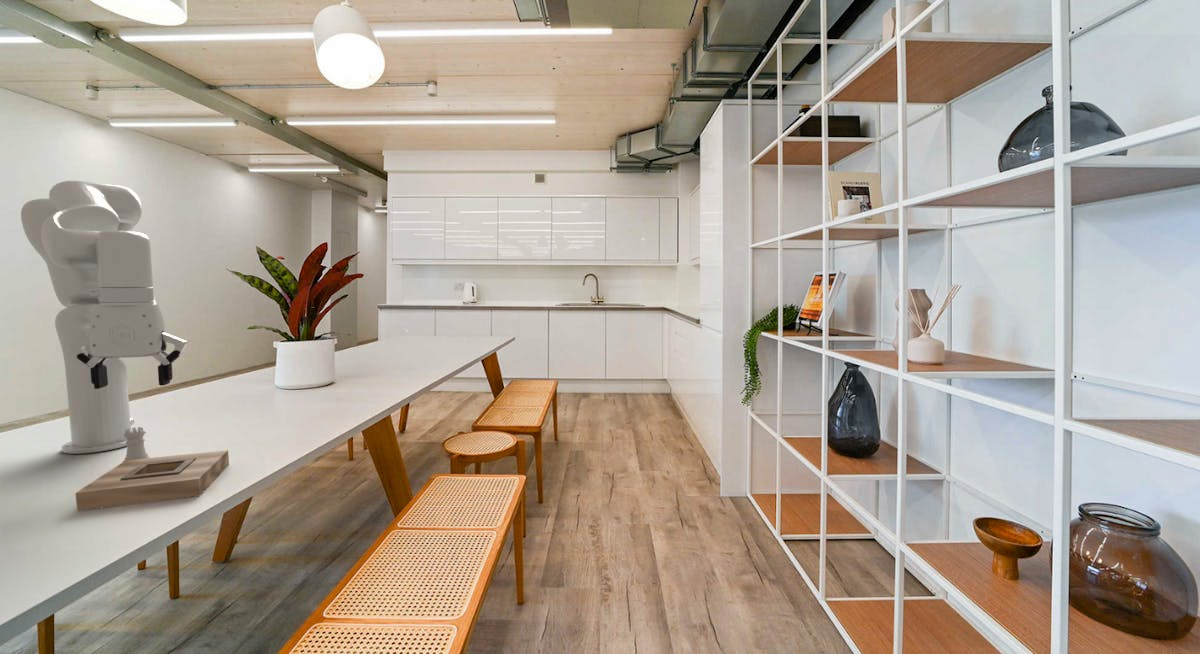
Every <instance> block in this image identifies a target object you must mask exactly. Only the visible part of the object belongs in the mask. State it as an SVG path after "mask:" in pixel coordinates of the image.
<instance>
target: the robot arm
mask: <svg viewBox="0 0 1200 654" xmlns="http://www.w3.org/2000/svg"><path fill="white" fill-rule="evenodd" d="M142 207H143V206H142V202H141V199H140V198H139V196H138V194H137V193H135V191H133V190H132V189H130V188H128V187H126V186H122V185H116V184H115V185H114V184H107V183H98V182H91V181H82V180H65V181H64V180H63V181H61V182H58V183H56V184H55V185H53V186H52V187H51V189H49V194H48V198H37V199H31V200H29V201H27V202H26V203H24V204H23V206H22V208H21V209H20V210H21V211H20V220H21V225H22V229H23V231H24V234H25V235H26V238H27V239H28V241H29V244H31V246H32V247H33V249H34V250H35V251H36V252H37V253H38V255H39V256H41V258H42V260H43V261H44V262H45V263H46V266H47V269H48V270H47V271H48V273H49V276H50V280H51V281H50V282H51V284H52V287H53V290H54V293H55V296H56V298H57V299H58V302H60V305H62V306H63V307H65V308H63V309H61V310H60V311H59V312H58V313H57V314H56V317H55V319H54V320H55V321H54V327H55V331H56V334H57V337H58V341H59V344H60V347H61V350H62V357H63V360H64V362H63V363H64V370H65V380H66V392H67V403H68V416H69V425H70V426H69V427H70V437H71V438H70V439H71V441H68V442H66V443H64V444H63V445H62V446H61V452H62V453H64V454H69V455H75V454H76V455H77V454H80V455H81V454H90V453H91V454H93V453H99V452H105V451H111V450H116V449H120V448H124V447H127V444H126V441H127V438H125V437H124V436H123V435H124V434H125V433H126V430H127V429H130V430H132V428H131V427H132V426H133V425H134V424H135V420H134V418H132V417H131V415H130V414H131V412H130V411H131V410H130V400H129V398H130V397H129V389H128V388H129V386H128V374H127V366H126V364H125V362H124V361H123V359H121V358H145V357H152V358H154V359H155V360H156V361H158V362H159V363H160V364H159V365H157V374H158V385H159V386H166V385H168V384H170V383H171V381H172V380H173V377H174V376H173V364H172V363H174V362H175V361H176V360H177V359H179V357H180V356H181V355H183V352H184V350H185V348H186V347H187V345H188V341H187V340H184V339H182V338H179V337H177V336H175V335H171V334H169V333H166V326H165V321H164V317H163V314H162V311H161V308H160V306H159V303H158V300H157V298H156V295H155V292H154V285H153V284H154V281H153V268H152V267H153V266H152V253H151V251H152V250H151V242H150V238H149V237H148V236H147V234H144V233H141V232H137V231H132V230H133V229H134V227H136V226H137V225H138V223H139V222H140V220H141V217H142V210H143V208H142ZM167 343H169V344H171V345H174V349H173V350H172V351H171V352H170V353H168V351H166V350H167V348H168V347H167V346H168V344H167Z"/></svg>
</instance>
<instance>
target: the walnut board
mask: <svg viewBox="0 0 1200 654" xmlns="http://www.w3.org/2000/svg"><path fill="white" fill-rule="evenodd" d="M229 459H230V458H229V450H228V449H227V450H217V451H207V452H199V453H198V452H197V453H185V454H177V455H168V456H167V455H165V456H157V457H150V458H145V459H135V460H126V461H124V460H123V461H124V462H123V461H122V462H123V463H122V462H121V463H120V464H118V465H116V466H114V468H112V469H110V470H109V471H107V472H105V473H104V474H102V475H101V476H100V477H98V478H97V479H94V480H93V481H91V482H90V483H89V484H87V485H85V486H84V487H82V488H81V489H79V490H78V491H76V492H75V501H76V511H77V512H79V510H82V511H87V510H86V509H90V510H94V509H93V508H98V509H102V508H101V507H106V508H111V507H110V506H114V507H120V505H122V506H128V505H129V504H130V505H136V503H138V504H145V503H153V501H154V502H160V500H162V501H169V499H170V500H176V498H178V499H184V497H186V498H192V497H191V496H194V497H199V496H198V495H200V496H201V495H202V494H204V492H205V491H206V490H207V489H208V488H209V487H210V486H211V485H212V484H213V483H214V481H215V480H216V479H218V477H219V476H220V475H221V474H222V473H223V472H224V471H223V470H224V469H225V468H226V467H227V468H228V466H230V460H229ZM227 468H226V469H227ZM226 469H225V470H226ZM222 471H223V472H222ZM221 472H222V473H221ZM220 473H221V474H220ZM219 474H220V475H219ZM210 484H211V485H210ZM209 485H210V486H209ZM208 486H209V487H208ZM207 487H208V488H207ZM206 488H207V489H206ZM203 491H204V492H203ZM167 499H168V500H167ZM127 504H128V505H127ZM130 505H129V506H130Z"/></svg>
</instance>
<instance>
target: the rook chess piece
mask: <svg viewBox="0 0 1200 654" xmlns="http://www.w3.org/2000/svg"><path fill="white" fill-rule="evenodd" d="M146 433H147V432H146V430H144V427H141V426H140V427H139V426H138V427H137V428H136V427H135V426H134V427H132V428H131V430H130V429H127V430H126V433H125V434H124V435H123V436H124V437H125V438H127V441H126V444H127V446H126V448H127V449H126V455H125V457H124V460H123V461H122V462H121V463H123V462H124V461H126V460H135V459H145V458H151V457H150V456H149V454H148V453H147V451H146V448H145V444H144V442H145V440H146V439H144V436H145V434H146Z"/></svg>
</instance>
